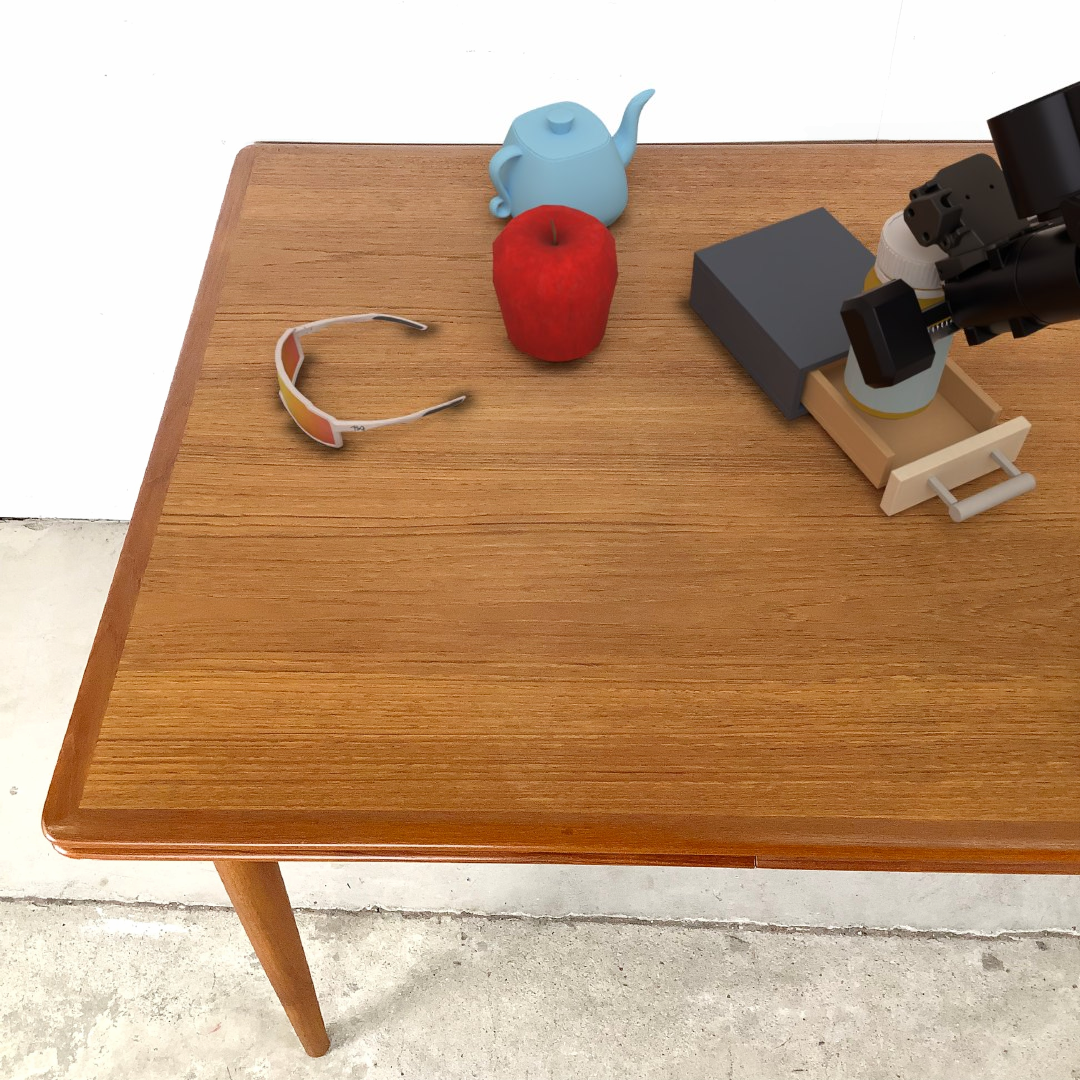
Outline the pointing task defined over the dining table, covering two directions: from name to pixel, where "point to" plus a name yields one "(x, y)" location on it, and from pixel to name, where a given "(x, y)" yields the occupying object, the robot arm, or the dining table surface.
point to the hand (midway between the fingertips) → (893, 313)
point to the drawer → (925, 442)
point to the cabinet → (782, 299)
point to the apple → (555, 281)
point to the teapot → (566, 161)
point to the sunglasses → (303, 410)
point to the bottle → (918, 270)
